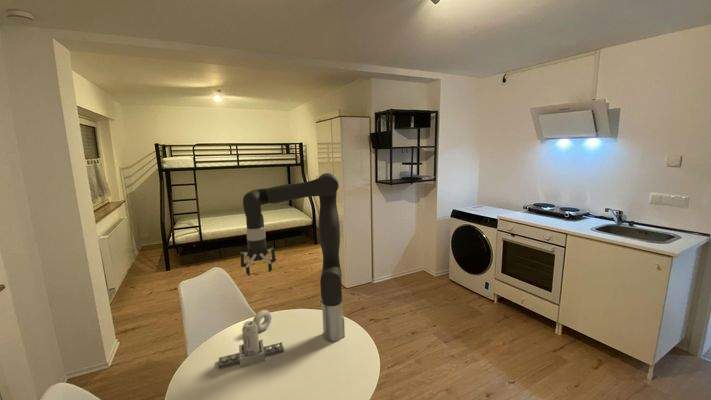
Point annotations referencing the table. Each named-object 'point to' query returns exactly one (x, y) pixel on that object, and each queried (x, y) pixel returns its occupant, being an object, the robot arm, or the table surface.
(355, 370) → the table surface
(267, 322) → the donut
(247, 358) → the mounting bracket
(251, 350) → the energy drink can
